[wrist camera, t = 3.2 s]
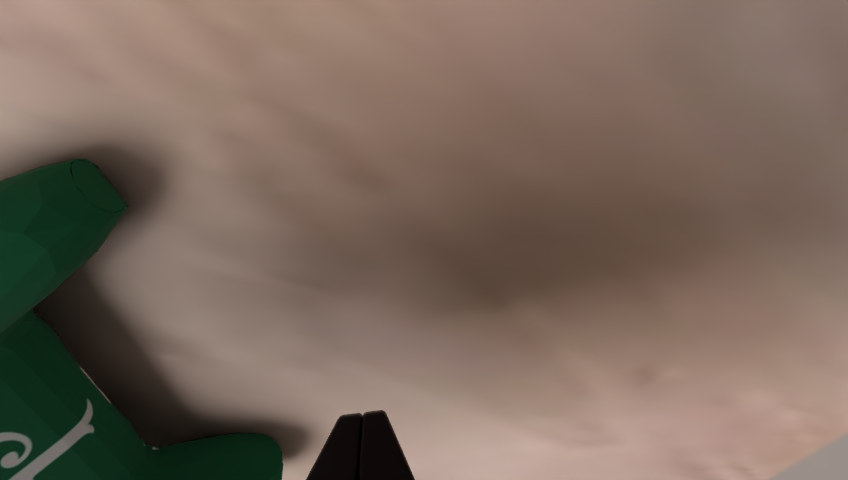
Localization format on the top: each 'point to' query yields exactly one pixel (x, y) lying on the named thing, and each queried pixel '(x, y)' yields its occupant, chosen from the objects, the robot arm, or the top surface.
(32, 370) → the gaming controller
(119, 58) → the top surface
